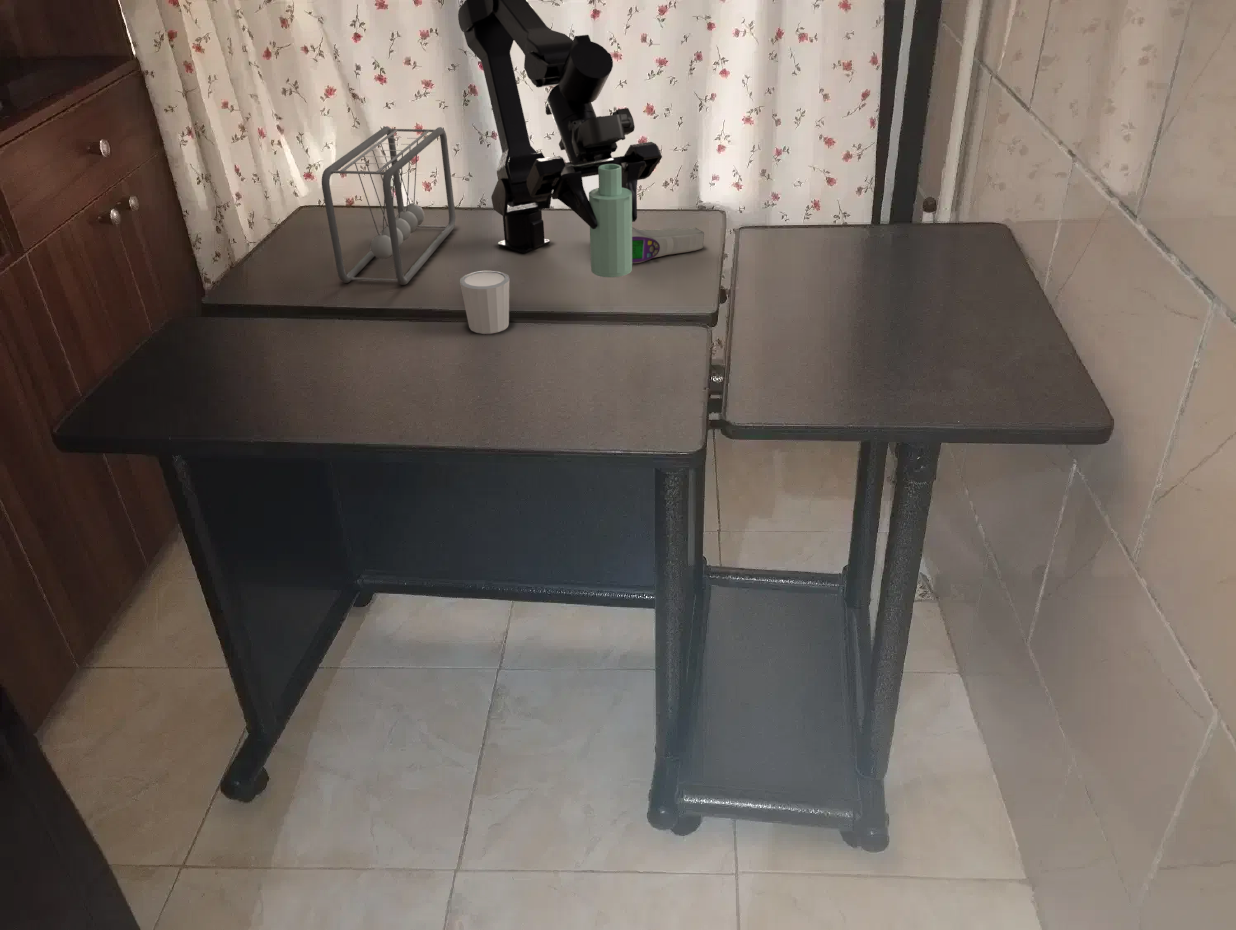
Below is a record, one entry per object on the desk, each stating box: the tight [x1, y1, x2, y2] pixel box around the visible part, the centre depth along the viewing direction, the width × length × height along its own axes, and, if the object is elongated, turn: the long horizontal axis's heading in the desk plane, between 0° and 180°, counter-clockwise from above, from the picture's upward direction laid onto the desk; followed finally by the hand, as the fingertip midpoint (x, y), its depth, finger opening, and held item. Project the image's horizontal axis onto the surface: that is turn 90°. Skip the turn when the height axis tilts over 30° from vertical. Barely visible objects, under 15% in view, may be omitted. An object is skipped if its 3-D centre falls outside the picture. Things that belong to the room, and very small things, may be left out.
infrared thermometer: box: [632, 226, 705, 264], centre depth 161 cm, size 5×12×15 cm
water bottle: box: [588, 164, 633, 278], centre depth 132 cm, size 6×6×14 cm
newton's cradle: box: [321, 125, 456, 286], centre depth 156 cm, size 30×10×18 cm, turn 172°
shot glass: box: [459, 270, 510, 335], centre depth 134 cm, size 7×7×7 cm
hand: (615, 224), depth 131 cm, fingers closed on water bottle, 6 cm apart
